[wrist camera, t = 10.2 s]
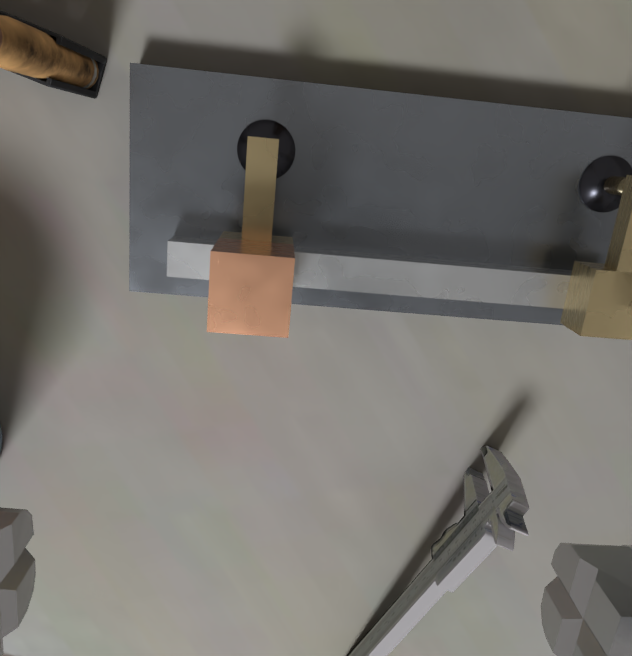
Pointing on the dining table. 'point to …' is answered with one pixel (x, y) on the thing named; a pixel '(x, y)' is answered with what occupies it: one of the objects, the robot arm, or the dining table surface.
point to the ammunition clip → (49, 57)
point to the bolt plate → (389, 197)
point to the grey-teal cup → (0, 438)
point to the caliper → (457, 550)
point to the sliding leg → (253, 258)
